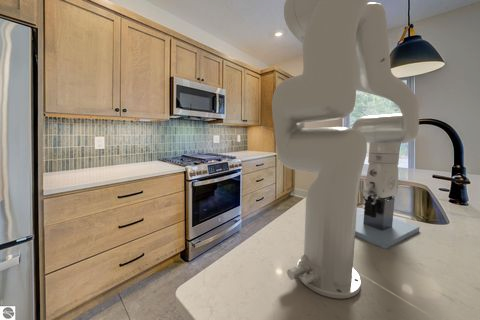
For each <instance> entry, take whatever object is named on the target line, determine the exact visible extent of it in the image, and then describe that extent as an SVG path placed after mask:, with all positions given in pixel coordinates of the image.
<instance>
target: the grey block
mask: <svg viewBox="0 0 480 320" xmlns="http://www.w3.org/2000/svg"><path fill="white" fill-rule="evenodd" d="M373 198H374V197H372V199H373ZM376 205H377V212H376V217H375V218H373V217H370V216H367V215H365V214H364V213H363V215H364V222H363V224H366V225H368V226H371V227H374V228H376V229H379V230H382V231H383V230H386V229H388V228H390V227H392V223H393V219H394V213H395V212H394V209H395V198H389V197H386V198H380V197H379V198H378V200H377V202H376Z"/></svg>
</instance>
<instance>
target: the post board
mask: <svg viewBox="0 0 480 320" xmlns="http://www.w3.org/2000/svg"><path fill="white" fill-rule="evenodd" d="M363 222H364V214H362V215H359V216H356V229H355V237H356V238H360V239H362V240H364V241H366V242H369V243H371V244H372V245H374V246H377V247H380V248H382V249H384V250H386V249H389V248H391V247H392V246H394V245H396V244H398V243H400V242H401V241H403V240H405V239H407V238H410V237H411V236H413V235H415V234H417V233H419V232H420V226H418V225H415V224H412V223H408V222H405V221H403V220H399V219H396V218H393V223H392V227H390V228H388V229H386V230H383V231H382V230H379V229H376V228H374V227H371V226H368V225H366V224H363Z"/></svg>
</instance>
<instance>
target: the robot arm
mask: <svg viewBox="0 0 480 320" xmlns="http://www.w3.org/2000/svg"><path fill="white" fill-rule="evenodd" d="M370 1H371V0H285V2H284V5H283V16H284V17H283V19H284V21H285V23H286V26H287V28H288V30H289V31H290V33H291V34H292V35H293V36H294V37H295V38H296V39H297V40H298V41H299V42H300V43H301V44H302V62H303V63H302V65H303V68H302V69H303V71H302V74H299V75H295V76H293V77H292V76H291V77H289V78H286V79H283V80H282V81H281V82H280V83H279V84H278V85H277V86H276V87H275V90H274V92H273V95H272V100H271V110H272V111H271V113H272V114H271V115H272V119H273V121H272V122H273V130H274V137H275V145H276V152H277V157H278V159H279V161H280V163H281V165H283V166H284V167H285V168H287V169H290V170H294V171H300V172H305V173H312V174H317V175H318V176H317V178H316V179H315V180H314V182H313V183H311V185H310V186H309V187H308V189H307V191H306V196H305V214H304V215H305V217H304V245H303V247H304V249H303V255H300V258H299V259H298V260H297V262H296V266H293V267H290V268H288V269H287V270H286V273H287V276H288V278H289V279H290V280H291V281H293V280H295V279H297V278H299V280H300V282H301V283H302V284H303V285H305V287H307V288H308V289H309V290H311V291H313V292H315V293H317V294H319V295H321V296H324V297H327V298H333V299H343V300H344V299H349V298H352V297H354V296H356V295H357V294H359V292H360V291H361V288H362V280H361V277H360V275H359V273H358V272H357V270H355V269H354V255H355V244H356V243H355V241H356V239H355V238H356V236H355V229H356V217H357V213H358V212H357V211H358V210H357V209H358V196H359V188H360V182H361V178H362V172H363V168H364V165H365V160H366V157H367V152H368V159H367V163H368V166H367V172H366V179H365V187H364V188H363V189H362V194H363V202H364V208H363V215H364V214H365V215H367V216H370V217H373V218H375V217H376V212H377V205H376V202H377V200H378V198H379V197H380V198H386V197H389V198H394V199H395V197H396V196H395V195H397V194H398V192H399V159H400V148H401V144H407V143H411V142H412V141H413V140H415V139H416V137H417V136H418V133H419V130H420V129H419V125H420V121H419V120H420V117H419V103H418V98H417V96H416V93H414V91H413V89H412V88H411V87H410V86H409V85H408V84H407V83H406V82H404V81H403V80H402V79H400V78H398V77H397V76H395V75H394V74H393V72H392V67H391V54H390V45H389V34H388V21H387V14H386V9H385V7H384V5H382V4H381V3H380V2H379V3H378V2H370ZM357 91H358V92H362V93H367V94H370V95H374V96H378V97H381V98H384V99H386V100H389V101H391V103H394V104H395V105H396V106H397V107H398V109H399V111H400V113H391V114H379V115H368V116H367V115H366V116H362V117H359V118H358V119H356V120H355V121H354V123H353V124H352V128H351V127H345V126H331V127H330V126H329V127H327V126H326V127H315V128H314V127H312V128H311V127H308V128H307V127H306V128H305V123H314V122H328V121H329V122H330V121H335V120H336V121H337V120H341V119H344V118H347V117H348V116H349V115H351V113H352V112H353V111H354V109H355V105H356V99H357ZM368 144H369V146H368ZM372 197H374V198H373V199H372Z"/></svg>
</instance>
